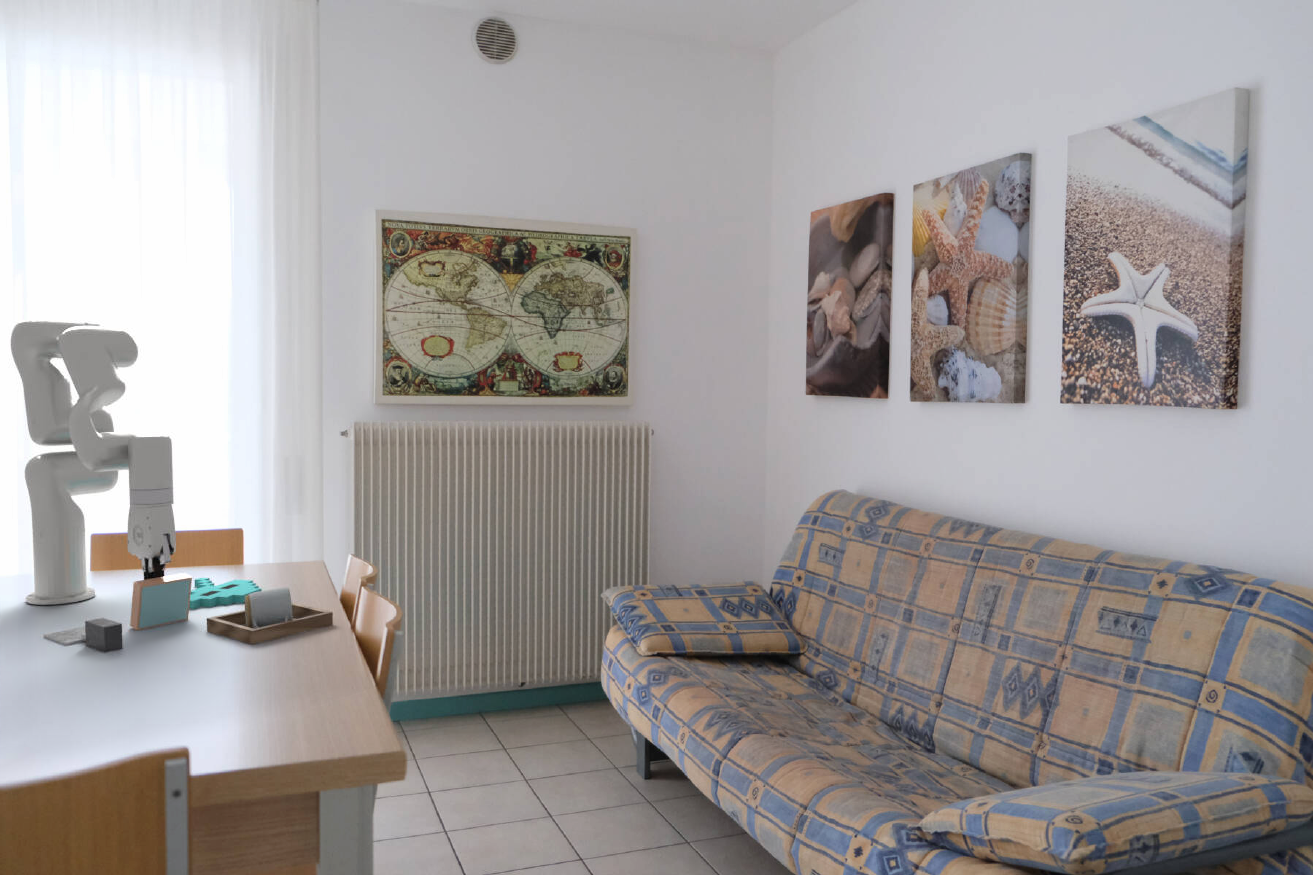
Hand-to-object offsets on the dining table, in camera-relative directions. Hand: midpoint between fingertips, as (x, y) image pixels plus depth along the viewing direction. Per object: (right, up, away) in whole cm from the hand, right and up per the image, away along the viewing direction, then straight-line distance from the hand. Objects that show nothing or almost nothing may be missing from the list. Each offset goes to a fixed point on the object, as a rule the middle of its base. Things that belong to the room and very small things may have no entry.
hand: (154, 590), depth 187 cm
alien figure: (+1, -6, +22) cm, 22 cm away
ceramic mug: (+25, -7, -4) cm, 26 cm away
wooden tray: (+24, -7, -3) cm, 25 cm away
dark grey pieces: (-5, -7, -13) cm, 16 cm away
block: (+1, -6, -1) cm, 6 cm away
